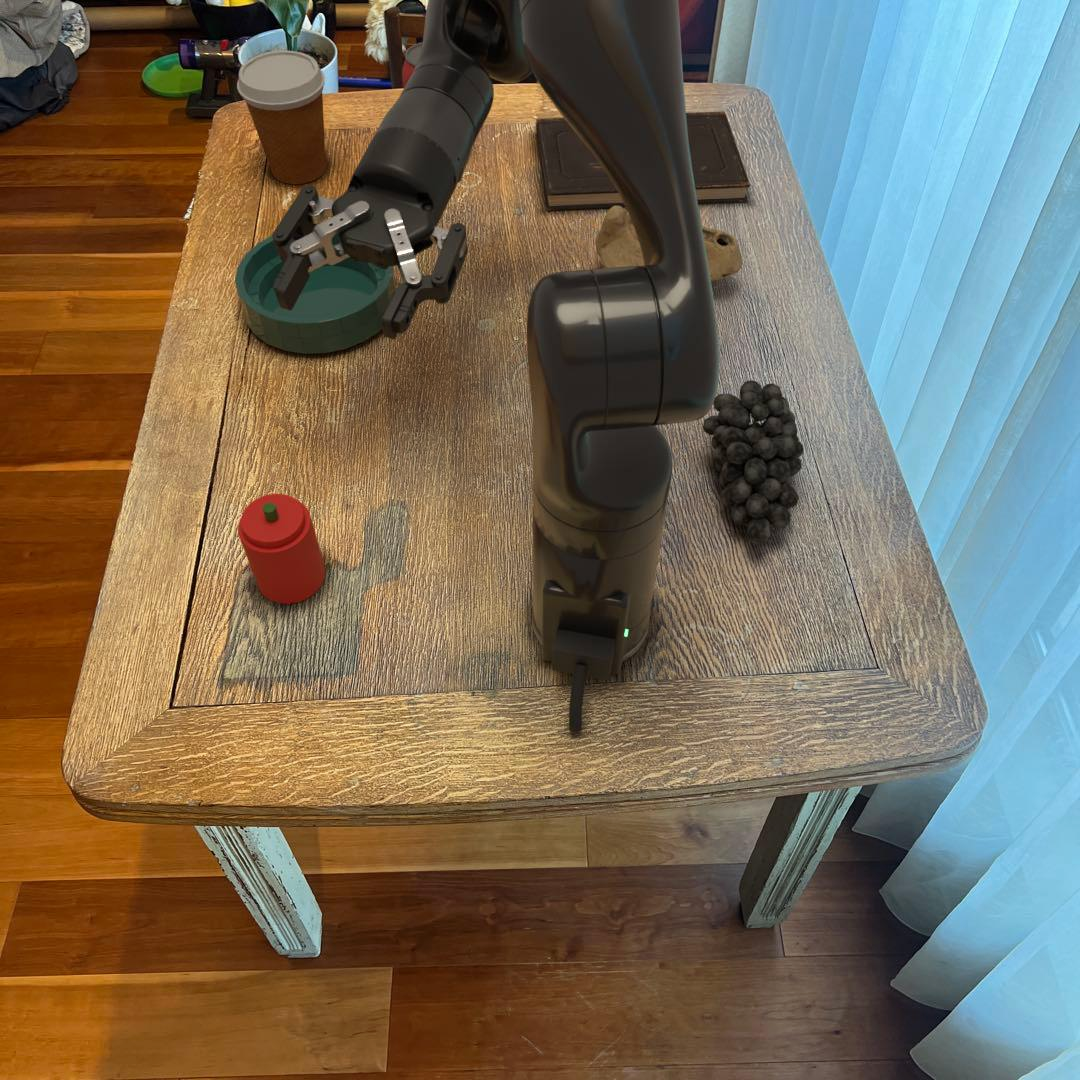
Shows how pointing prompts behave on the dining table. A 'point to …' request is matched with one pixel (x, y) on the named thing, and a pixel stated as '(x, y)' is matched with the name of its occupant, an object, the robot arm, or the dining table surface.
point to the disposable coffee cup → (287, 112)
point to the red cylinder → (282, 548)
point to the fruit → (756, 457)
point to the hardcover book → (587, 185)
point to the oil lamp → (624, 250)
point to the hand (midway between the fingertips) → (334, 317)
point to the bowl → (314, 302)
